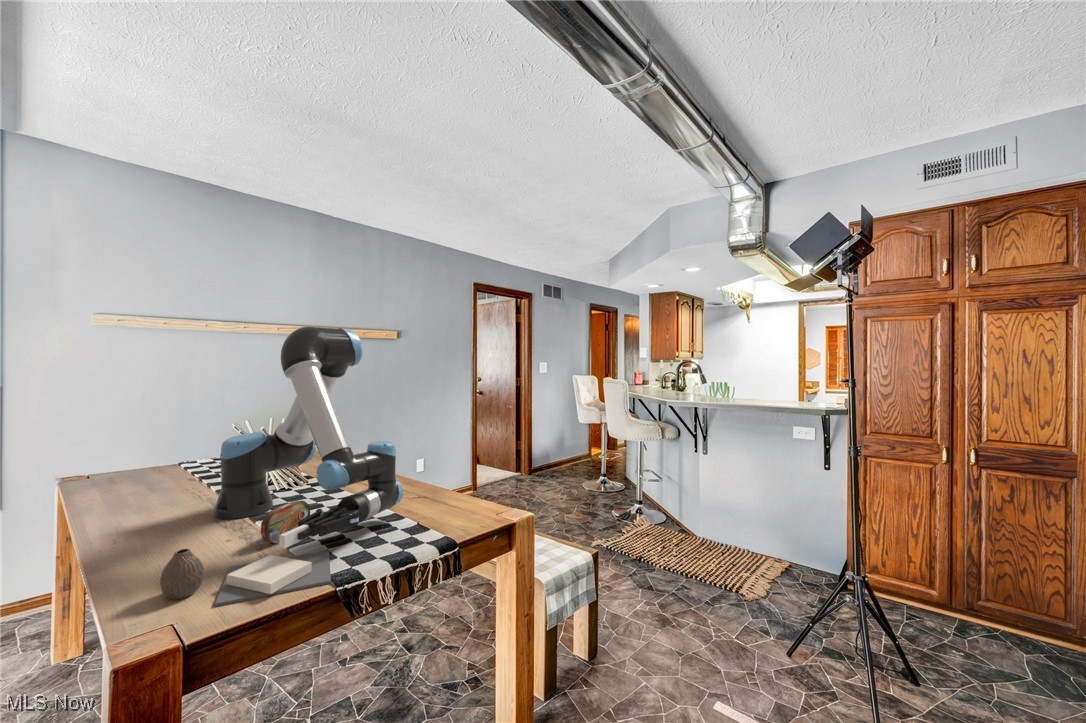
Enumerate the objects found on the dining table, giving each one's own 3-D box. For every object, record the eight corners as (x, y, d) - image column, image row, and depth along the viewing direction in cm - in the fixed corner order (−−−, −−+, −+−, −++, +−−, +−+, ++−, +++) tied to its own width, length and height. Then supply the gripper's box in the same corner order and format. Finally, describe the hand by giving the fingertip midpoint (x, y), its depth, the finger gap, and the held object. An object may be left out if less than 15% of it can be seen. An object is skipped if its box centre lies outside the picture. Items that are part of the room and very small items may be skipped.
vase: (188, 602, 88) (188, 557, 88) (150, 604, 87) (150, 559, 87) (212, 585, 95) (211, 543, 94) (177, 586, 94) (176, 544, 94)
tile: (270, 564, 103) (226, 585, 93) (270, 554, 103) (226, 574, 93) (311, 572, 99) (270, 595, 89) (311, 562, 99) (270, 584, 89)
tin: (269, 548, 113) (268, 515, 112) (258, 547, 113) (257, 514, 113) (311, 526, 127) (311, 496, 127) (301, 525, 128) (301, 496, 128)
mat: (230, 569, 101) (230, 566, 101) (329, 552, 110) (329, 549, 110) (214, 606, 86) (214, 603, 86) (330, 583, 95) (330, 580, 95)
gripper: (378, 524, 119) (305, 563, 96) (338, 518, 123) (259, 554, 100) (378, 495, 119) (305, 527, 96) (338, 491, 123) (259, 521, 100)
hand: (282, 541), depth 98 cm, fingers closed
